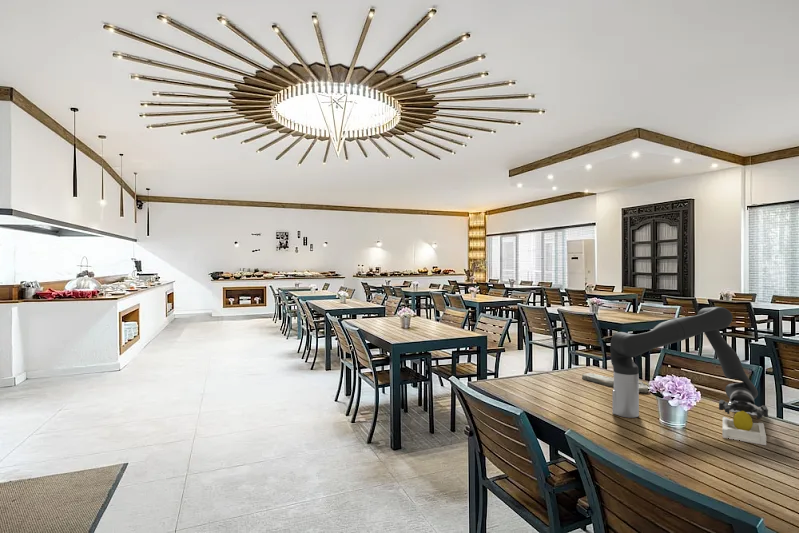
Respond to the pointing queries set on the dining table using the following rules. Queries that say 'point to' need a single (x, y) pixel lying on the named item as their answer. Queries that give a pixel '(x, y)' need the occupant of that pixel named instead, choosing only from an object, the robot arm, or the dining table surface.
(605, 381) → the elongated rock
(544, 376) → the dining table surface
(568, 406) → the dining table surface
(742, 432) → the tray
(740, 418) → the lemon
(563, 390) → the dining table surface
